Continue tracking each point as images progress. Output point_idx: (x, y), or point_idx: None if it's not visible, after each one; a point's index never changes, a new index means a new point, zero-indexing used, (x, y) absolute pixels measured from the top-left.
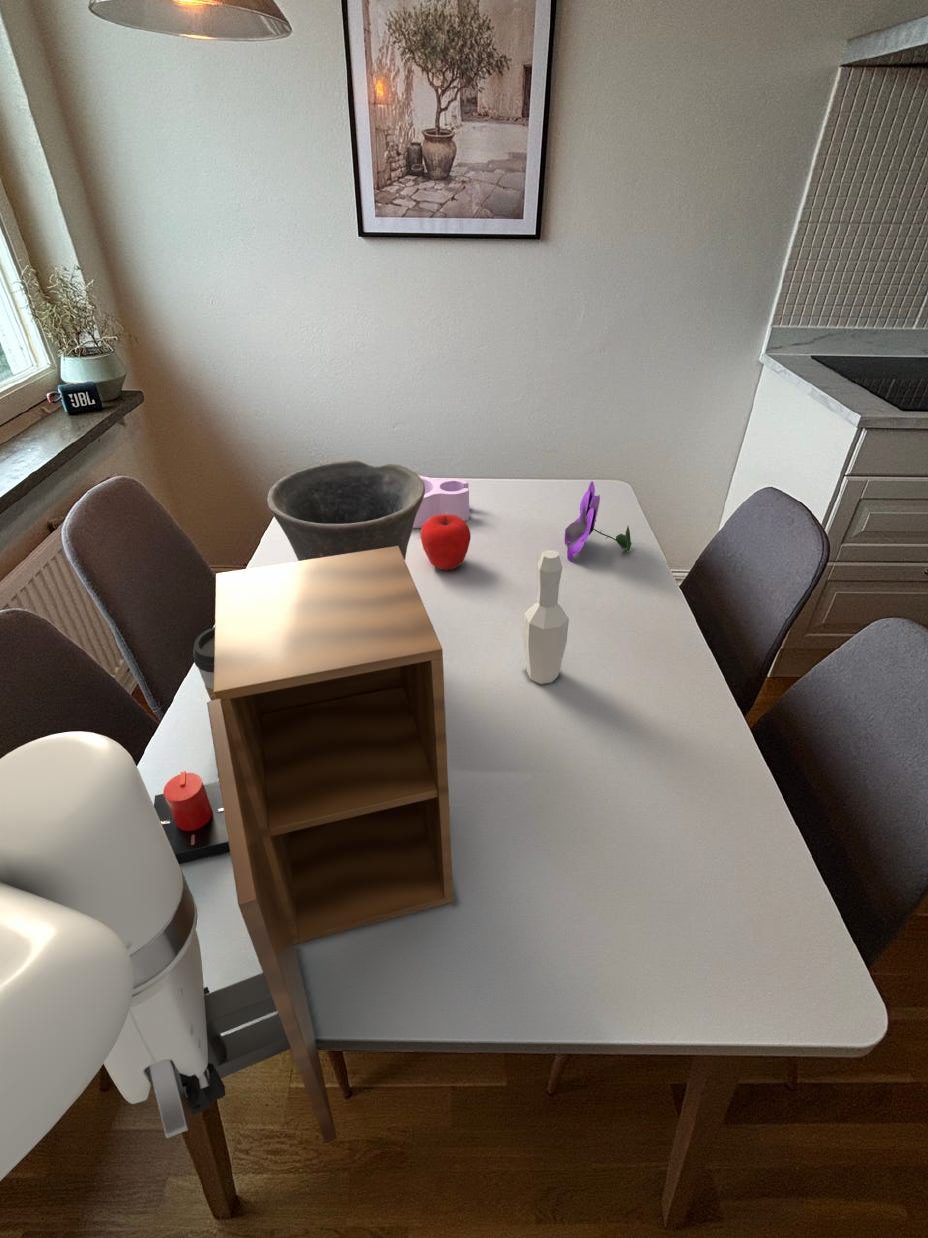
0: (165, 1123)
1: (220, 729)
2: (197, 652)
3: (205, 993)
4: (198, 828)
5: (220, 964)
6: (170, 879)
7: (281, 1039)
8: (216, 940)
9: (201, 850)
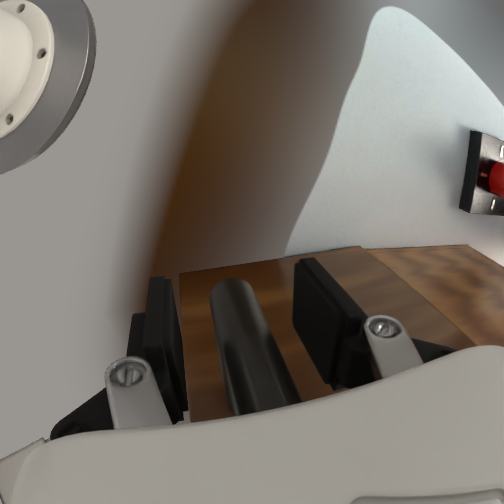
0: (4, 501)
1: None
2: None
3: (335, 387)
4: (489, 180)
5: (376, 181)
6: None
7: (228, 403)
8: (398, 179)
9: (473, 179)
